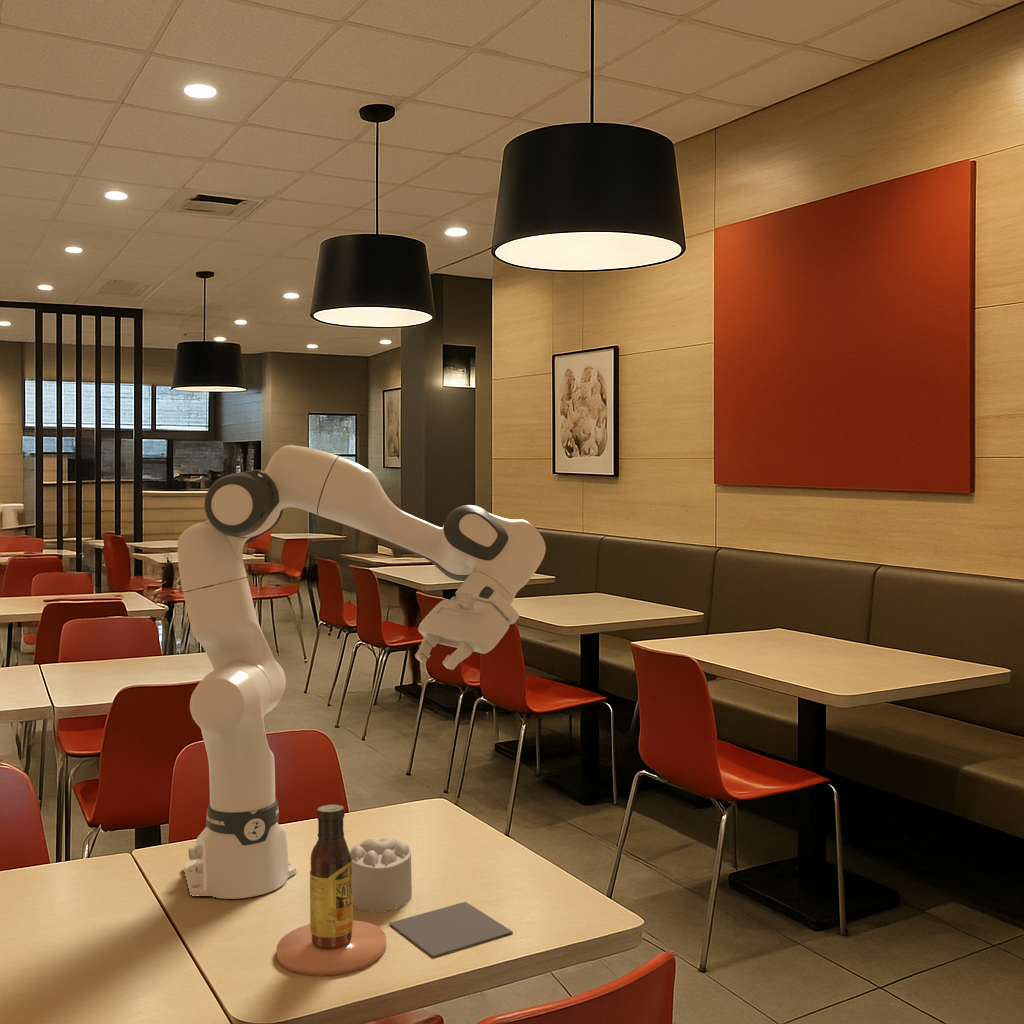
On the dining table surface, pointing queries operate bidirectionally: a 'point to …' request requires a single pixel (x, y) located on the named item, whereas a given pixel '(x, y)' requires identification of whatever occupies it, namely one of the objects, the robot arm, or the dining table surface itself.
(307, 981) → the dining table surface
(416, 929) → the rubber mat
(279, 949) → the terracotta plate
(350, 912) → the sauce bottle
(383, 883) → the lumpy-topped squat cylinder
